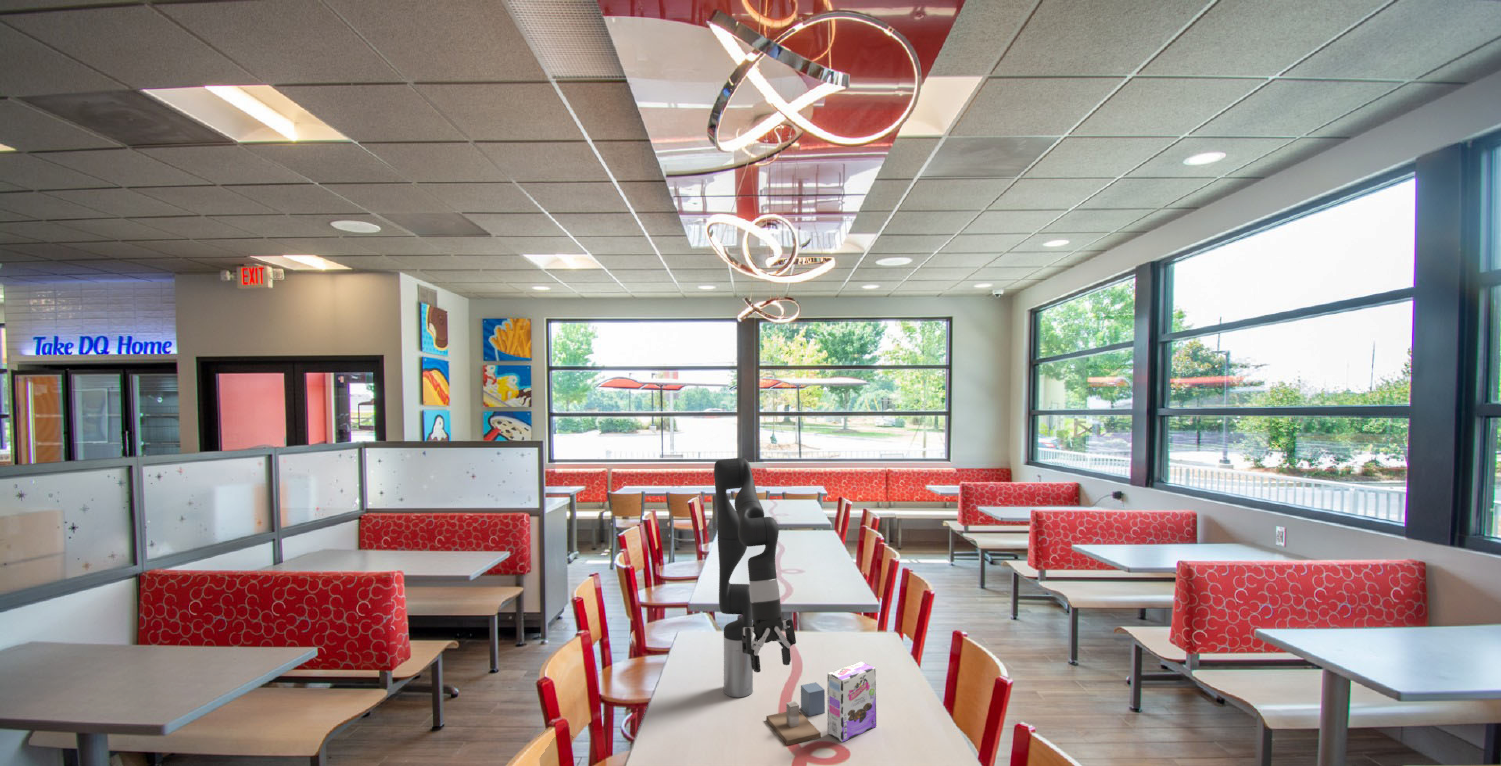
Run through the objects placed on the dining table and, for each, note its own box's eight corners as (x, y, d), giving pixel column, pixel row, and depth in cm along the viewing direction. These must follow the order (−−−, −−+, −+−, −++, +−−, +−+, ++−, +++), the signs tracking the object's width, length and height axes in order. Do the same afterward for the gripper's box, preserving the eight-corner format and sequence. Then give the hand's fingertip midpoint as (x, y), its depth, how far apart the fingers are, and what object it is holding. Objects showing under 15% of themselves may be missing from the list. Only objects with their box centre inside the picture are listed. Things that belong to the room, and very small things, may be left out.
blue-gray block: (800, 707, 177) (800, 685, 178) (816, 704, 179) (816, 682, 179) (809, 716, 172) (808, 692, 173) (824, 712, 174) (824, 689, 175)
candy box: (842, 743, 158) (841, 679, 159) (826, 733, 163) (826, 672, 164) (877, 726, 166) (876, 666, 167) (861, 718, 171) (861, 659, 172)
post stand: (766, 720, 170) (766, 696, 170) (797, 713, 174) (797, 689, 174) (787, 745, 157) (787, 719, 158) (820, 737, 161) (820, 712, 161)
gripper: (780, 594, 156) (787, 660, 152) (733, 602, 149) (739, 672, 145) (796, 595, 150) (804, 664, 146) (748, 603, 143) (754, 676, 138)
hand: (771, 668), depth 145 cm, fingers open, 8 cm apart
